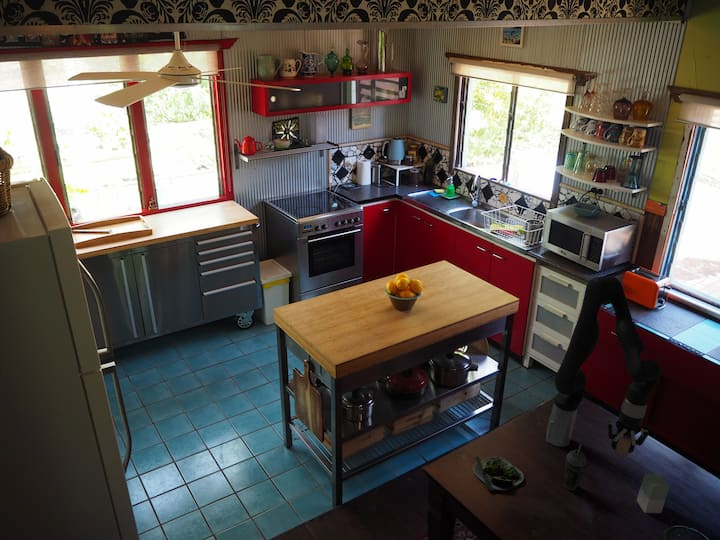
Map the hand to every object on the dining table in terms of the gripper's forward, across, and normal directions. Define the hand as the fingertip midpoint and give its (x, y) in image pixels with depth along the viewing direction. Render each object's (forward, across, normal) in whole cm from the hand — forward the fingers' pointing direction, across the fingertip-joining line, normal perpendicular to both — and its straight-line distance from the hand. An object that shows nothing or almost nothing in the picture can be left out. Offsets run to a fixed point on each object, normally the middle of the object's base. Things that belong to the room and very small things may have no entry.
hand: (621, 449), depth 217 cm
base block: (+17, +12, -6) cm, 22 cm away
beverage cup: (+17, -15, -5) cm, 23 cm away
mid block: (+11, +12, -6) cm, 17 cm away
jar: (+1, 0, 0) cm, 1 cm away
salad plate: (+18, -41, -9) cm, 45 cm away
